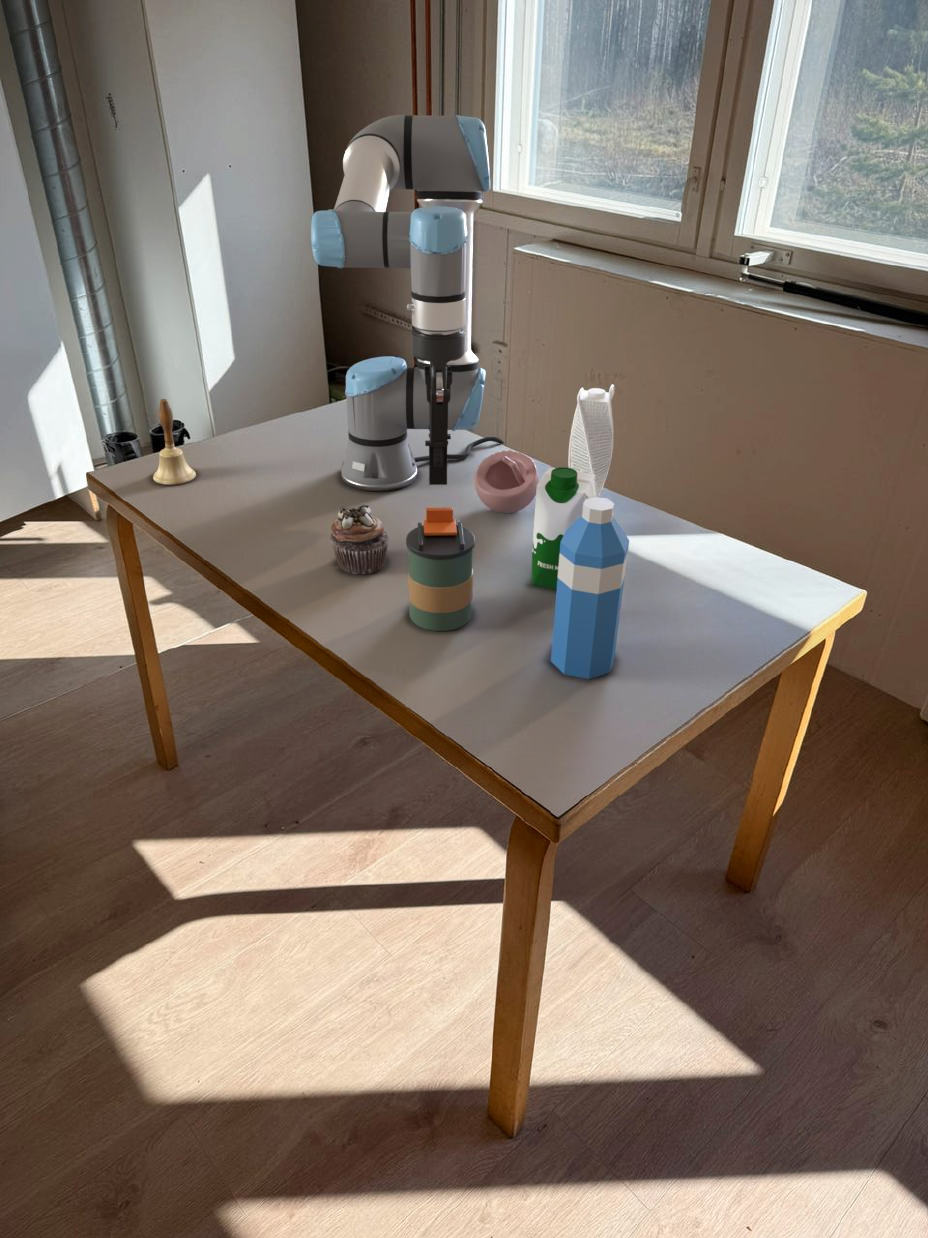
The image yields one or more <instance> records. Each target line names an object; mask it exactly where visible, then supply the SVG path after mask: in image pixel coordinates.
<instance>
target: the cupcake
mask: <svg viewBox="0 0 928 1238" xmlns="http://www.w3.org/2000/svg"><path fill="white" fill-rule="evenodd" d="M371 513H372V510H371V507H369V505H365V504H362V505H360V506H358V507H357V508H356V507H352V508H350V509H349V508H345V507H343V506H341V507H340V508H339V511H338V514H337V515H338V516H337V518H336V519H335V520H334V521H333V523H332V524H331V527H330V529H331V535H330V542H331V544H332V548H333V551H334V555H335V558H336V561H337V563H338V566H339V568H340V569H341V570H342V571H343V572H346V573H347V574H352V575H368V574H373V573H376V572H379V571H380V570H382V569H383V568H384V566H385V563H386V557H387V554H388V553H387V552H388V547H389V541H390V535H389V533H388V532H387V531H386V530H385V528H384V525H383V522H382V521H381V520H380V519H379V518H377V517H375V516H374V515H371Z"/></svg>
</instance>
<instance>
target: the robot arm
mask: <svg viewBox="0 0 928 1238" xmlns="http://www.w3.org/2000/svg"><path fill="white" fill-rule="evenodd" d="M487 140H488V139H487V132H486V127H485V124H484V122H483V120H481V119H480V118H478V117H474V116H465V115H459V114H456V115H409V114H408V115H407V114H393V115H389V116H386V117H383V118H380V119H378V120H375V121H374V122H372V123H370V124H368V125H367V126H365V127H364V128H363V129H361V130H360V131H358V133H356V134H355V135H354V136H353V137H352V139H351V140H350V141H349V143H348V144H347V147H346V149H345V151H344V152H345V153H344V154H343V159H342V169H343V174H344V175H343V179H342V182H341V186H340V188H339V192H338V195H337V199H336V202H335V204H334V207H333V208H332V209H330V208H329V209H328V210H327V209H326V210H318V211H315V212H314V213H313V215H312V217H311V222H310V223H311V224H310V242H311V250H312V255H313V259H314V261H315V263H317V265H319V266H321V267H322V266H323V267H334V268H337V269H344V268H355V269H356V268H365V269H367V268H370V269H371V268H372V269H373V268H376V269H378V268H379V269H381V268H382V269H410V276H411V277H410V279H411V280H410V283H411V293H410V295H411V302H410V303H407V305H406V310H407V311H409V312H411V311H412V312H411V325H412V326H413V329H412V330H411V354H412V356H413V357H414V358H416V360H417V367H408V364H407V363H406V360H405V359H403V358H402V357H399V356H398V357H395V356H390V355H389V356H378V357H377V356H376V357H371V358H368V359H364V360H361V361H359V362H357V363H354V364H353V365H352V366H350V368H348V370H347V371H346V375H345V391H344V394H345V395H344V396H345V397H346V398H345V399H346V412H347V413H346V414H347V415H346V417H347V433H348V441H347V446H346V449H345V454H344V459H343V461H342V464H341V471H340V472H341V473H340V475H341V480H342V481H343V482H344V483H345V484H346V485H348V486H349V487H352V488H354V489H358V490H361V491H369V492H386V491H387V492H388V491H394V490H399V489H402V488H405V487H407V486H409V485H411V484H412V483H414V482H415V481H416V479H417V478H418V467H417V463H419V462H427V461H428V482H429V485H430V486H442V485H443V486H447V485H448V460H461V459H466V458H467V457H469V456H470V455H471V449H472V448H475V447H477V446H479V445H482V444H484V443H487V442H488V443H489V442H496V443H497V444H500V445H504V444H505V442H504V440H503V439H502V438H500V437H498V436H486V437H482V438H480V439H477V440H475V441H473V442H471V443H468V444H467V445H466V447H465V452H463V453H459V454H458V453H457V454H450V453H448V446H449V440H451V439H452V435H451V433H449V432H448V431H451V432H455V431H464V430H465V431H466V430H467V431H469V430H473V429H475V427H477V425H478V423H479V419H480V415H481V409H482V404H483V398H484V390H485V380H486V372H487V371H486V370H485V369H484V368H482V367H479V358H478V357H477V356H476V354H474V352H473V350H472V305H473V304H472V301H473V259H474V258H473V253H474V252H473V251H474V213H475V211H476V210H478V208H479V206H480V205H482V204H483V193H486V192H489V191H490V190H491V177H490V176H491V175H490V161H489V152H488V143H487ZM391 190H414V191H416V193H417V194H416V201H417V203H418V204H419V205H420V206H421V207H417V208H415V209H414V210H413V211H386V209H387V205H388V201H389V196H390V191H391ZM408 430H428V431H429V433H428V438H429V439H428V440H425V441H424V442H425V443H424V444H425V445H424V446H425V447H428V455H423V456H415V457H414V454H413V451H412V449H411V445H410V442H409V440H408Z"/></svg>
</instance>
